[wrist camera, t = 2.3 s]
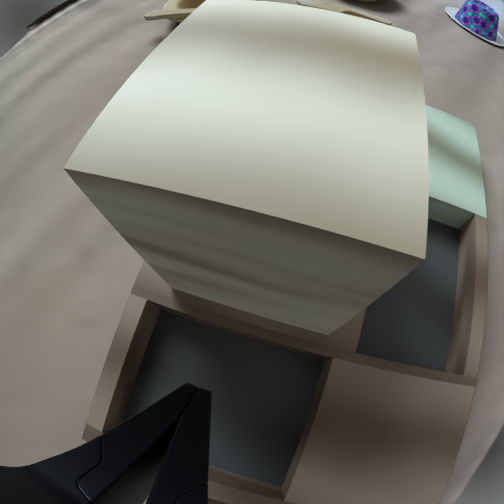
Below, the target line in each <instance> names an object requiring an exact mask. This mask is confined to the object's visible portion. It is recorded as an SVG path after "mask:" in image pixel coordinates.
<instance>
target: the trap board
mask: <svg viewBox="0 0 504 504" xmlns="http://www.w3.org/2000/svg"><path fill="white" fill-rule="evenodd" d="M425 107H426V119H427V134H428V158H429V202H428V226H427V242H426V254H425V260H424V261H423V262H422V263H420V264H419V265H418V266H417V267H416V268H415V269H413V270H412V271H411V272H410V273H409V274H407V275H406V276H405V277H404V278H403V279H401V280H400V281H399V282H398V283H396V284H395V285H394V286H393V287H392V288H390V289H389V290H388V291H387V292H385V293H384V294H383V295H382V296H380V297H379V298H378V299H376V300H375V301H374V302H373V303H371V304H370V305H369V306H367V307H366V308H365V309H364V310H362V311H361V312H360V313H358V314H357V315H356V316H354V317H353V318H352V319H350V320H349V321H347V322H346V323H345V324H343V325H342V326H341V327H339V328H338V329H337V330H335V331H334V332H332V333H331V334H330V335H326V334H322V333H319V332H315V331H311V330H308V329H304V328H300V327H297V326H293V325H290V324H286V323H283V322H279V321H276V320H272V319H269V318H266V317H262V316H259V315H256V314H252V313H249V312H246V311H242V310H239V309H236V308H233V307H229V306H226V305H223V304H220V303H217V302H214V301H210V300H207V299H204V298H201V297H198V296H195V295H192V294H189V293H186V292H183V291H180V290H177V289H174V288H171V287H170V286H169V285H168V284H167V283H166V282H165V281H164V280H163V279H162V278H161V277H160V276H159V275H158V274H157V273H156V272H155V271H154V270H153V269H152V267H151V266H150V265H149V264H148V263H147V262H146V261H145V260H144V262H143V265H142V267H141V269H140V272H139V274H138V276H137V279H136V281H135V284H134V286H133V289H132V291H131V294H130V296H129V299H128V301H127V304H126V306H125V309H124V312H123V314H122V317H121V319H120V322H119V325H118V327H117V330H116V333H115V336H114V338H113V341H112V344H111V347H110V350H109V352H108V355H107V358H106V361H105V364H104V367H103V370H102V373H101V376H100V379H99V382H98V386H97V389H96V392H95V395H94V398H93V402H92V405H91V408H90V412H89V415H88V419H87V422H86V426H85V429H84V433H83V437H82V439H83V440H85V441H87V442H89V441H91V440H92V439H94V438H96V437H98V436H99V435H100V436H101V435H102V434H103V433H105V432H107V431H108V430H110V429H112V428H113V427H115V426H117V425H119V424H120V423H122V422H124V421H125V420H127V419H129V418H130V417H132V416H134V415H135V414H137V413H139V412H140V411H142V410H144V409H145V408H147V407H148V406H150V405H152V404H153V403H155V402H157V401H158V400H160V399H161V398H163V397H164V396H166V395H168V394H169V393H171V392H172V391H174V390H175V389H177V388H179V387H180V386H182V385H183V384H185V383H190V384H193V385H196V386H198V387H199V388H204V389H207V390H209V391H211V392H212V403H211V424H210V446H209V473H208V498H211V499H214V500H217V501H220V502H223V503H226V504H439V501H440V499H441V497H442V494H443V492H444V489H445V487H446V484H447V482H448V479H449V477H450V474H451V471H452V468H453V466H454V463H455V460H456V457H457V454H458V451H459V448H460V444H461V441H462V438H463V434H464V431H465V427H466V424H467V420H468V416H469V412H470V408H471V404H472V399H473V395H474V390H475V385H476V380H477V375H478V369H479V363H480V357H481V350H482V343H483V335H484V326H485V315H486V302H487V283H488V234H487V215H486V202H485V192H484V183H483V174H482V167H481V160H480V154H479V148H478V142H477V137H476V132H475V127H474V125H473V124H471V123H468V122H466V121H464V120H462V119H459V118H457V117H455V116H452V115H450V114H448V113H445V112H443V111H440V110H438V109H435V108H433V107H430V106H428V105H425Z"/></svg>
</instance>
